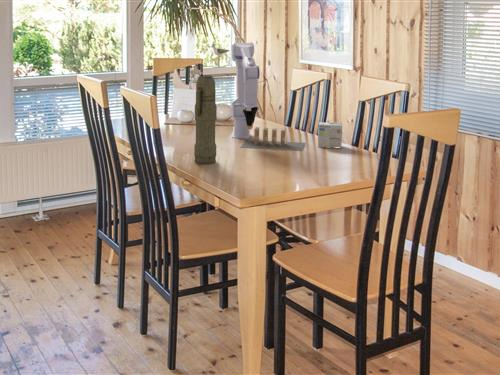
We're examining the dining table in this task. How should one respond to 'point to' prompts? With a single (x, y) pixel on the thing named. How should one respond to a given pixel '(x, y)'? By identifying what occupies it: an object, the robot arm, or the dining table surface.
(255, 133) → the domino
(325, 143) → the light bulb box
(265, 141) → the domino
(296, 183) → the dining table surface
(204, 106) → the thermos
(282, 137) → the domino
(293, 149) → the rubber mat
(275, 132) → the domino
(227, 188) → the dining table surface
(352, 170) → the dining table surface
